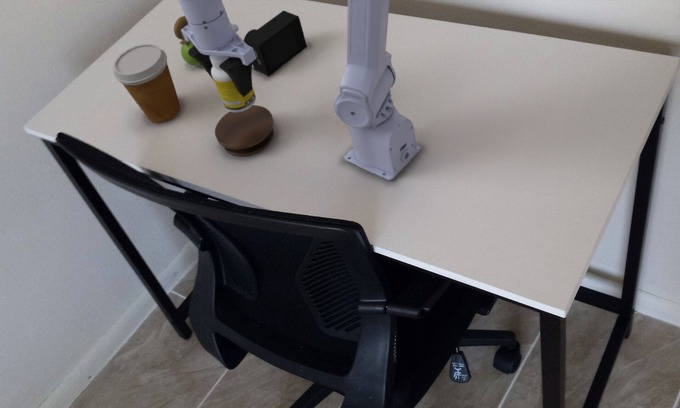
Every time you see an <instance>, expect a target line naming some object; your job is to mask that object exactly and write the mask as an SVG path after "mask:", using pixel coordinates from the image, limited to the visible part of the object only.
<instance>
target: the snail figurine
mask: <svg viewBox="0 0 680 408" xmlns="http://www.w3.org/2000/svg"><path fill="white" fill-rule="evenodd" d="M187 25H188V22H187V19H186V17H185V15H182V16H179V17H178V18H177V19H176V20H175V22H174V25H173V33H174V36H175V37H176V38H177V39H178V40H180V42H179V44H180V45H181V47H180V54H181V57H182V59H183V60H184V62H185V63H186V64H188V65H191V66H194V67H195V66H196V67H197V66H198V67H199V66H202V65H201V64H200V63H199V62H197V61H196V60H195V59H194V58H193V57H191V56H190V55H189V54H188V51H189V49H190V48H192V47H193V43H192V42H191V41H186V40H185V38H184V36H183V34H182V31H181V30H182V29H183V28H184V27H186V26H187Z"/></svg>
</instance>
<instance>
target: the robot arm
mask: <svg viewBox="0 0 680 408" xmlns="http://www.w3.org/2000/svg"><path fill="white" fill-rule="evenodd" d="M390 1H391V0H347V18H346V19H347V22H346V23H347V25H346V64H345V68H344V71H343V74H342V77H341V81H340V84H339V94H338V95H337V96H336V97H335V99H334V101H333V103H332V104H333V107H332V109H333V111H334V113H335V115H336V117H337V118H338V119H339V120H340V121H341V122H342V123H344V124H345V125H346V126H347V128H348V132H349V136H350V140H351V144H352V148H351V149H350V150H349V151H348V152H347V153H346V154H345V155H344V156H343V159H344V161H346V162H347V163H349V164H352V165H354V166H356V167H358V168H360V169H363V170H365V171H367V172H368V173H371V174H373V175H376V176H377V177H380V178H382V179H384V180H387V181H388V182H390V181H393V180H394V179H395V177H397V176H398V174H400V172H401V171H402V170H403V169H404V168H405V167H406V166H407V165H408V164H409V163H410V162H411V161H412V160H413V158H415V156H416V155H417V154H419V152H421V146H420V145H418V144H417V141H416V134H415V128H414V127H415V126H414V124H413V121H412V120H411V119H409V118H408V117H405V116H404V115H403V114H401V113H400V111H398V110H397V108H396V107H395V105H394V102H393V98H392V90H391V89H392V88H393V87H394V85H395V84H396V81H397V80H396V79H397V74H396V71H395V69H394V66H393V64H392V53H391V52H389V51H387V38H388V25H389V14H390V13H389V12H390ZM178 4H179V6H180V8H181V10H182V12H183V16H185V17H186V19H187V22H188V25H187V26H186V27H184V28H183V29H182V30H181V31H182V34H183V36H184V38H185V40H186V41H191V42H192V43H193V47H192V48H190V49H189V51H188V54H189V55H190V56H191V57H193V58H194V59H195V60H196V61H197V62H199V63H200V64H201V65H200V66H201V67H202V68H203V69H204V71H205V72H206V73H207V74H208V75H209V77H210V78H211V79H212V80H213V77H212V75H211V69H212V67H213V65H212V63H211V60H210V55H213V56H227V57H229V59H227V60H225V61H224V62H223V63H221V64H220V65H219V67H220V68H221V69H222V70H223V71H225V72H226V73H227V74H228V76H229V77H230V78H231V80H232V81H233V83H234V85H235V87H236V89H237V90H238V92H239V93H240V94H241V95H242V96H245V95H246V94H248V93H249V92H250V91H251V90H252V87H253V73H252V71H253V61H254V60H255V59H256V56H255V51H254V49H253V48H252V47H250V46H248V45H247V44H246V43H245V42H244V39H243V38H242V37H241V36H240V35H239V34H238V33H237V32H238V31H239V30H240V28H239V26H238V25H237V24H235V23H232V22H231V21H230V19H229V15H228V13H227V10H226V8H225V5H224V3H223V0H178Z"/></svg>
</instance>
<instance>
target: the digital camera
mask: <svg viewBox="0 0 680 408" xmlns="http://www.w3.org/2000/svg"><path fill="white" fill-rule="evenodd" d="M243 41H244V42H245V43H246V44H247V45H248V46H250V47H252V48H253V49H254V51H255V56H256V59H255V60H254V61H253V65H252V68H253V69H254V71H256V72H258V73H260V74H262V75H264V76H266V77H268V78H270V77H271V76H272V75H273V74H275V72H277V71H278V70H279V69H281V68H282V67H283V66H285V65H286V64H288V63H289V62H290V61H291V60H293V58H295V57H296V56H297V55H299V54H300V53H301V52H303V51H304V50H305V49H306V48H308V45H307V41H306V37H305V34H304V30H303V25H302V22H301V19H300V16H298V15H296V14H295V13H291V12H289V11H286V10H282V11H281V12H279V13H277V15H275V16H274V17H273V18H271V19H270V20H268V21H267V22H266V23H264V24H263V25H261V26H260V27H259V28H258V29H257V28H254V29H253V28H252V29H250V30H249V31H247V33H245V36H244V38H243Z"/></svg>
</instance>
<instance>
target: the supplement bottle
mask: <svg viewBox="0 0 680 408" xmlns="http://www.w3.org/2000/svg"><path fill="white" fill-rule="evenodd" d="M227 59H229V57H227V56H213V55H210V60H211V63H212V65H213V67H212V69H211V75H212V77H213V79H212V81H213V82H214V85H215V87H216V90H217V92H218V95H219V97H220V99H221V103H222V105H223V107H224V109H225V110H226V111H228V112H235V113H236V112H242V111H245V110H247V109H249V108H250V107H252V106H253V105H255V103H256V100H257V96H256V93H255V89H254V87H253V86H252V90H251V91H250V92H249V93H248V94H246V95H245V96H242V95H241V94H240V93H239V92H238V90H237V89H236V87H235V85H234V83H233V81H232V80H231V78H230V77H229V76H228V74H227V73H226V72H225V71H223V70H222V69H221V68H220V67H219V65H220V64H221V63H223V62H224V61H225V60H227Z"/></svg>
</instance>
